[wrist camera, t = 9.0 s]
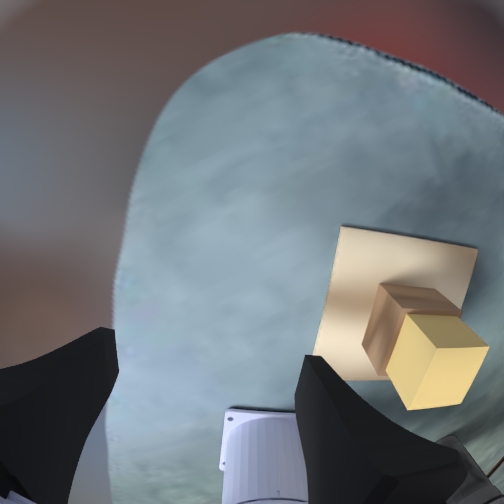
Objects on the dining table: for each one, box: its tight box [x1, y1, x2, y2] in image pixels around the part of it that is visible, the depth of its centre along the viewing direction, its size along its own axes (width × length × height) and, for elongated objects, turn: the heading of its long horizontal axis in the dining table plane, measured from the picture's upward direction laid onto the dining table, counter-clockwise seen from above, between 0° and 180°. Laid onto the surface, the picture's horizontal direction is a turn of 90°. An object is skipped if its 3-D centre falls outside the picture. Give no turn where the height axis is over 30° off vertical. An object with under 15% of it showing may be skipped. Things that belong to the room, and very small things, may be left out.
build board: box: [313, 226, 478, 381], centre depth 22 cm, size 12×12×1 cm
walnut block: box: [361, 283, 462, 376], centre depth 20 cm, size 5×5×4 cm
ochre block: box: [386, 314, 490, 410], centre depth 16 cm, size 4×4×4 cm
